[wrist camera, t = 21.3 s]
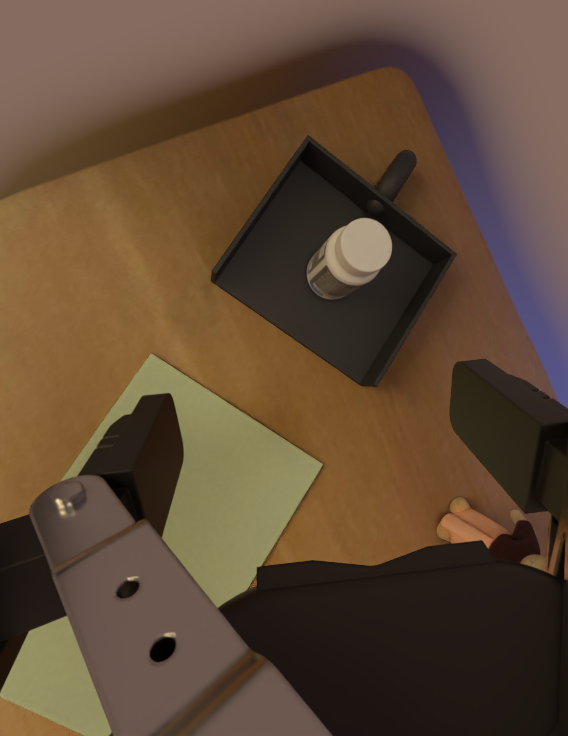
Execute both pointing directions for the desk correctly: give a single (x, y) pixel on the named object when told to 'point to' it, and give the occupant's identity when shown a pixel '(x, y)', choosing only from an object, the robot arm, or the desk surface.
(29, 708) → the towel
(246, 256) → the dustpan
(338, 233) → the pill bottle
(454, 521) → the grandmother figurine
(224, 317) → the desk surface
